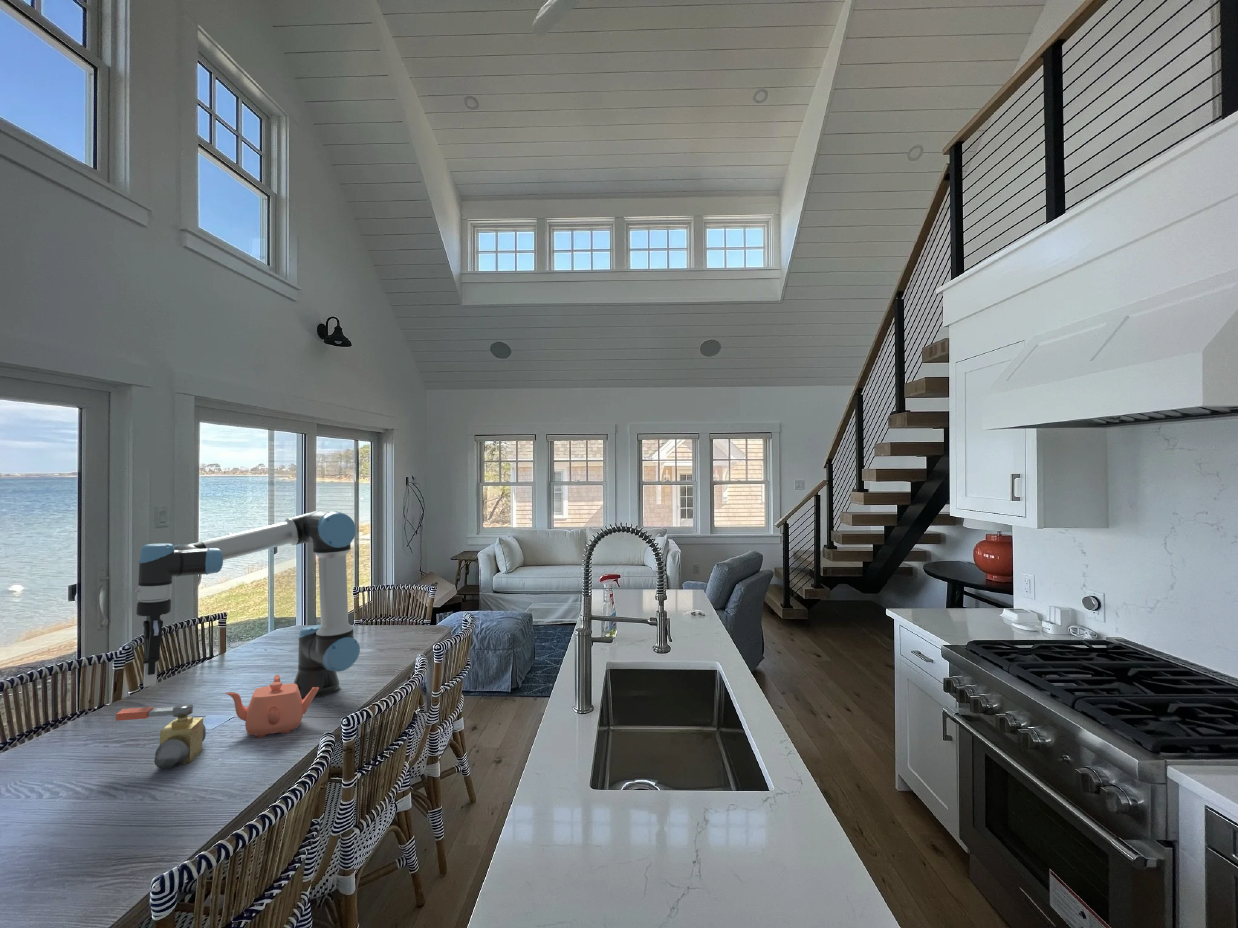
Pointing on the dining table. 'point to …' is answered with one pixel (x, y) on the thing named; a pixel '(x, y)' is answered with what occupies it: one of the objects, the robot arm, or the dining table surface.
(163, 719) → the dining table surface
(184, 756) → the valve body
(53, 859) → the dining table surface
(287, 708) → the teapot
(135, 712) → the lever
